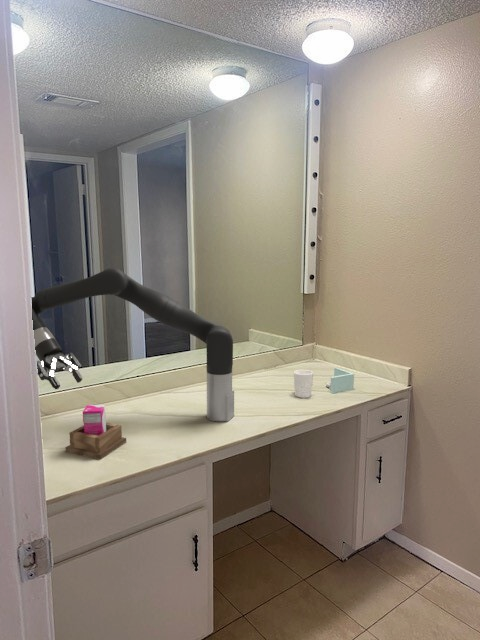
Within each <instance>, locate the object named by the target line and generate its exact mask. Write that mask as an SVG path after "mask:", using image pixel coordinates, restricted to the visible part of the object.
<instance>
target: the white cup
mask: <svg viewBox="0 0 480 640" xmlns="http://www.w3.org/2000/svg"><path fill="white" fill-rule="evenodd" d="M313 378H314V371H312V370H309V369H296V370H294V372H293V379H294V380H293V383H294V386H293V387H294V396H295V397H296V398H303V399H306V398H310V397H312V390H313V384H314V383H313V381H314V379H313Z"/></svg>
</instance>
